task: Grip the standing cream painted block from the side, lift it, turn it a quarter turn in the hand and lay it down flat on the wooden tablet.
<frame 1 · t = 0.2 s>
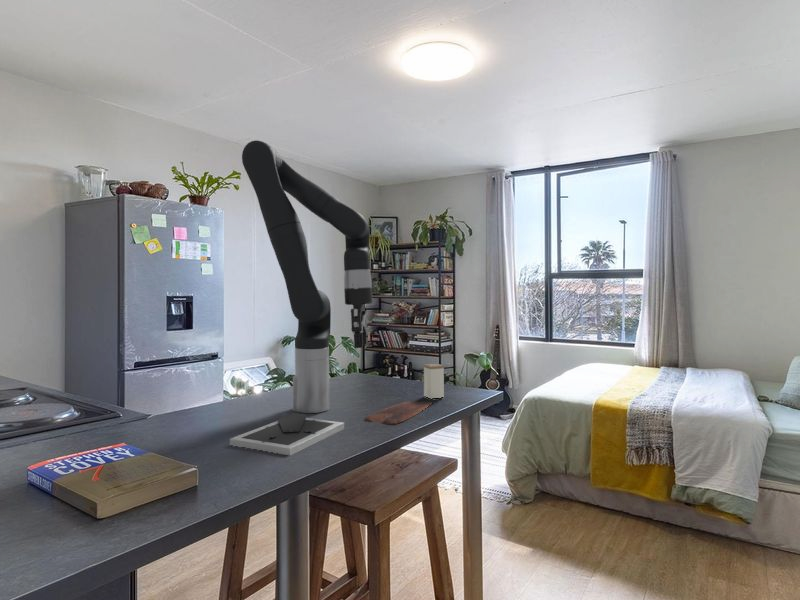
hand: (360, 346, 133), 18 cm above the breakfast bar, tool pointing down, fingers open, 8 cm apart
cream block: (433, 397, 149), on the breakfast bar
wooden tablet: (402, 414, 132), on the breakfast bar
picture frame: (290, 440, 110), on the breakfast bar
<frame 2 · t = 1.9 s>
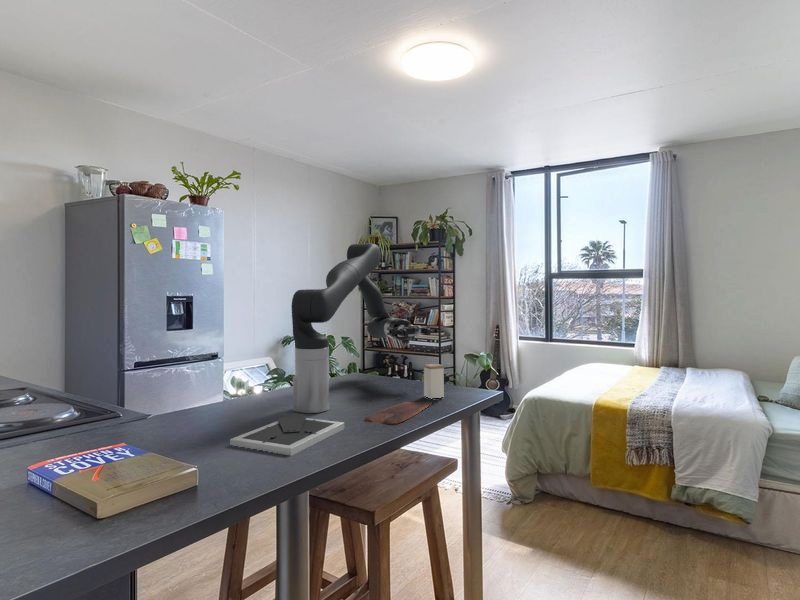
hand: (417, 332, 159), 19 cm above the breakfast bar, tool horizontal, fingers open, 8 cm apart
nothing on the breakfast bar moved.
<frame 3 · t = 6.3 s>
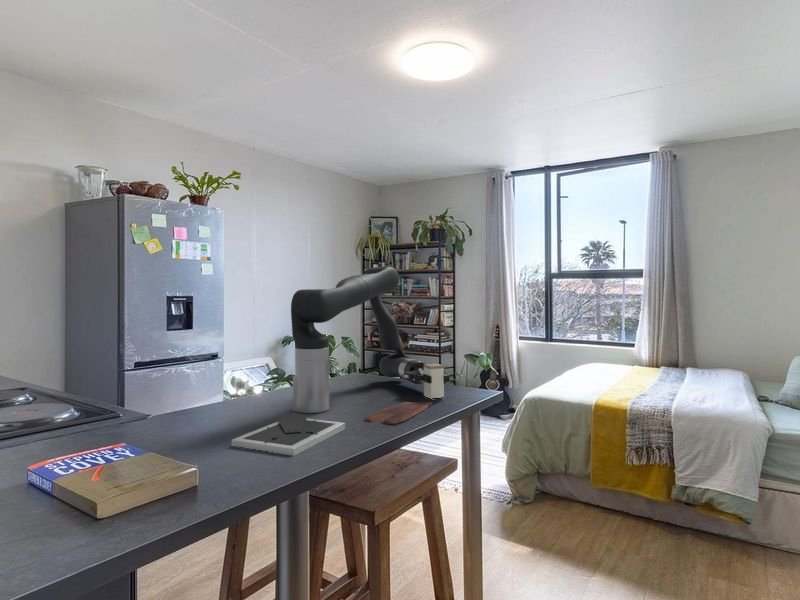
hand: (438, 379, 147), 6 cm above the breakfast bar, tool horizontal, fingers closed on cream block, 4 cm apart
cream block: (433, 397, 149), on the breakfast bar, touching gripper
everything else where it was.
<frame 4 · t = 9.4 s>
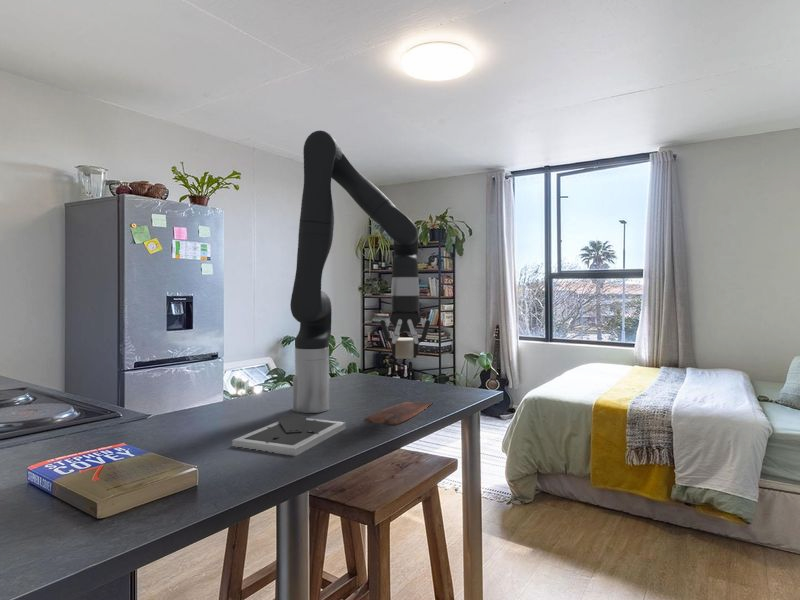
hand: (405, 357, 132), 15 cm above the breakfast bar, tool pointing down, fingers closed on cream block, 4 cm apart
cream block: (407, 345, 138), point 17 cm above the breakfast bar, tilted 90°, touching gripper
everything else where it was.
when the fingers open (3 cm above the breakfast bar, at t = 11.5 s): cream block drops 2 cm, resting on wooden tablet.
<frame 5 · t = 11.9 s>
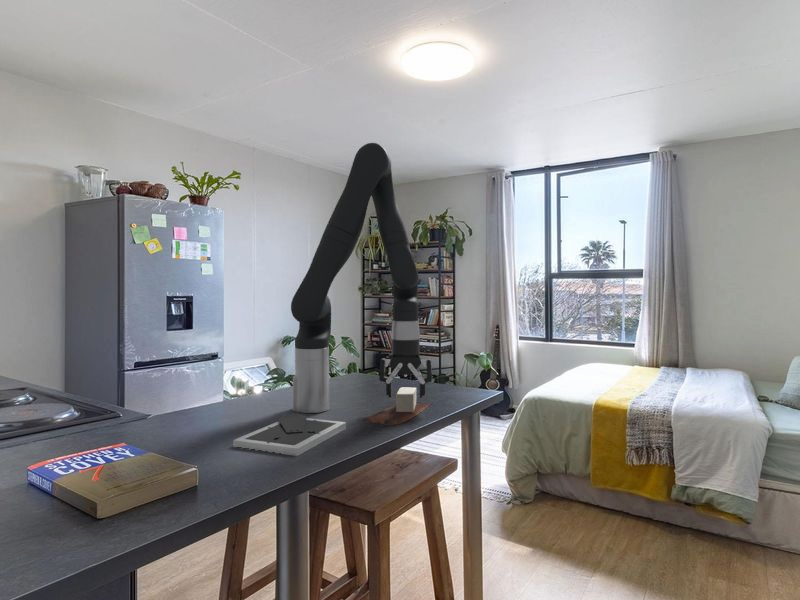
hand: (405, 397, 132), 4 cm above the breakfast bar, tool pointing down, fingers open, 8 cm apart
cream block: (408, 395, 138), point 3 cm above the breakfast bar, tilted 90°, touching wooden tablet
wooden tablet: (403, 415, 132), on the breakfast bar, touching cream block
everything else where it was.
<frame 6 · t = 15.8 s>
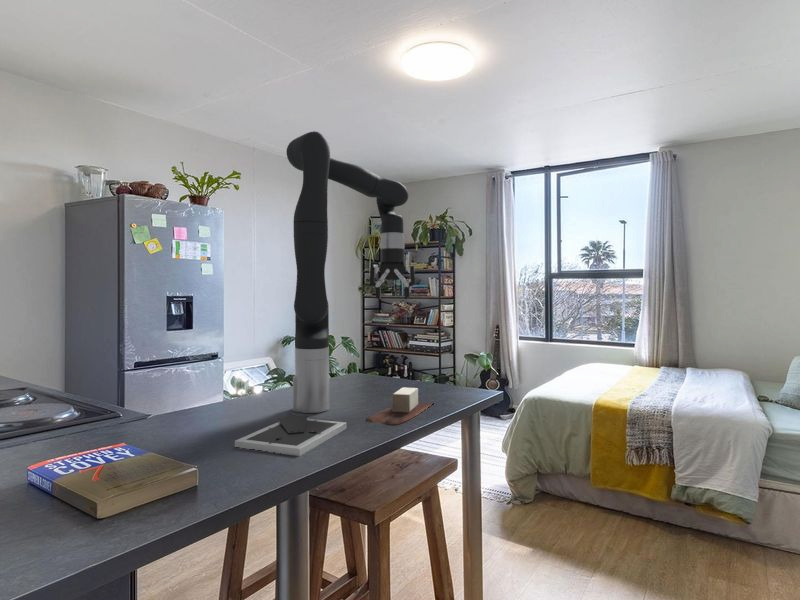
hand: (392, 299, 154), 30 cm above the breakfast bar, tool pointing down, fingers open, 8 cm apart
at the end: cream block tilted 90°; cream block inside the target area on the wooden tablet (5.9 cm from its centre), point 4.0 cm above the wooden tablet's base; the gripper is holding nothing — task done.
